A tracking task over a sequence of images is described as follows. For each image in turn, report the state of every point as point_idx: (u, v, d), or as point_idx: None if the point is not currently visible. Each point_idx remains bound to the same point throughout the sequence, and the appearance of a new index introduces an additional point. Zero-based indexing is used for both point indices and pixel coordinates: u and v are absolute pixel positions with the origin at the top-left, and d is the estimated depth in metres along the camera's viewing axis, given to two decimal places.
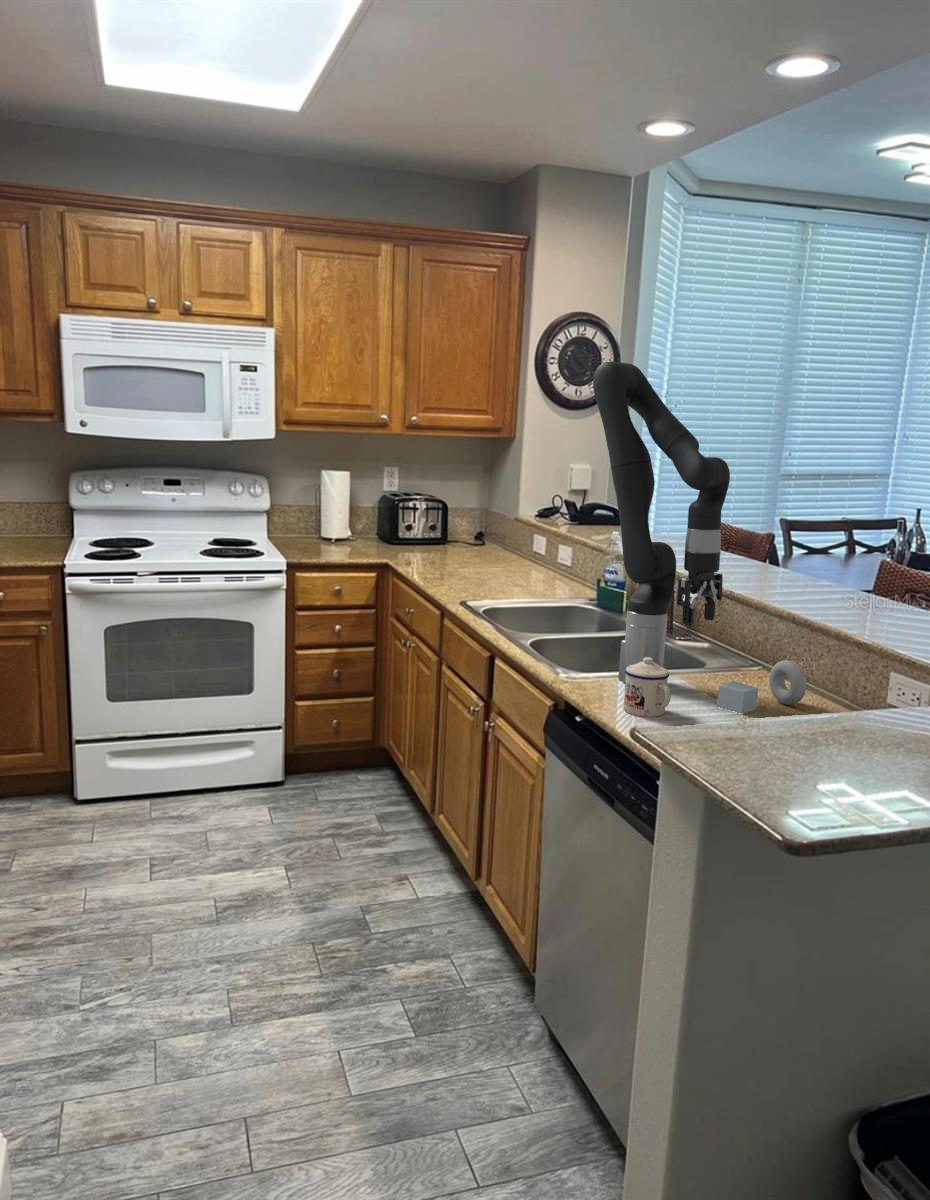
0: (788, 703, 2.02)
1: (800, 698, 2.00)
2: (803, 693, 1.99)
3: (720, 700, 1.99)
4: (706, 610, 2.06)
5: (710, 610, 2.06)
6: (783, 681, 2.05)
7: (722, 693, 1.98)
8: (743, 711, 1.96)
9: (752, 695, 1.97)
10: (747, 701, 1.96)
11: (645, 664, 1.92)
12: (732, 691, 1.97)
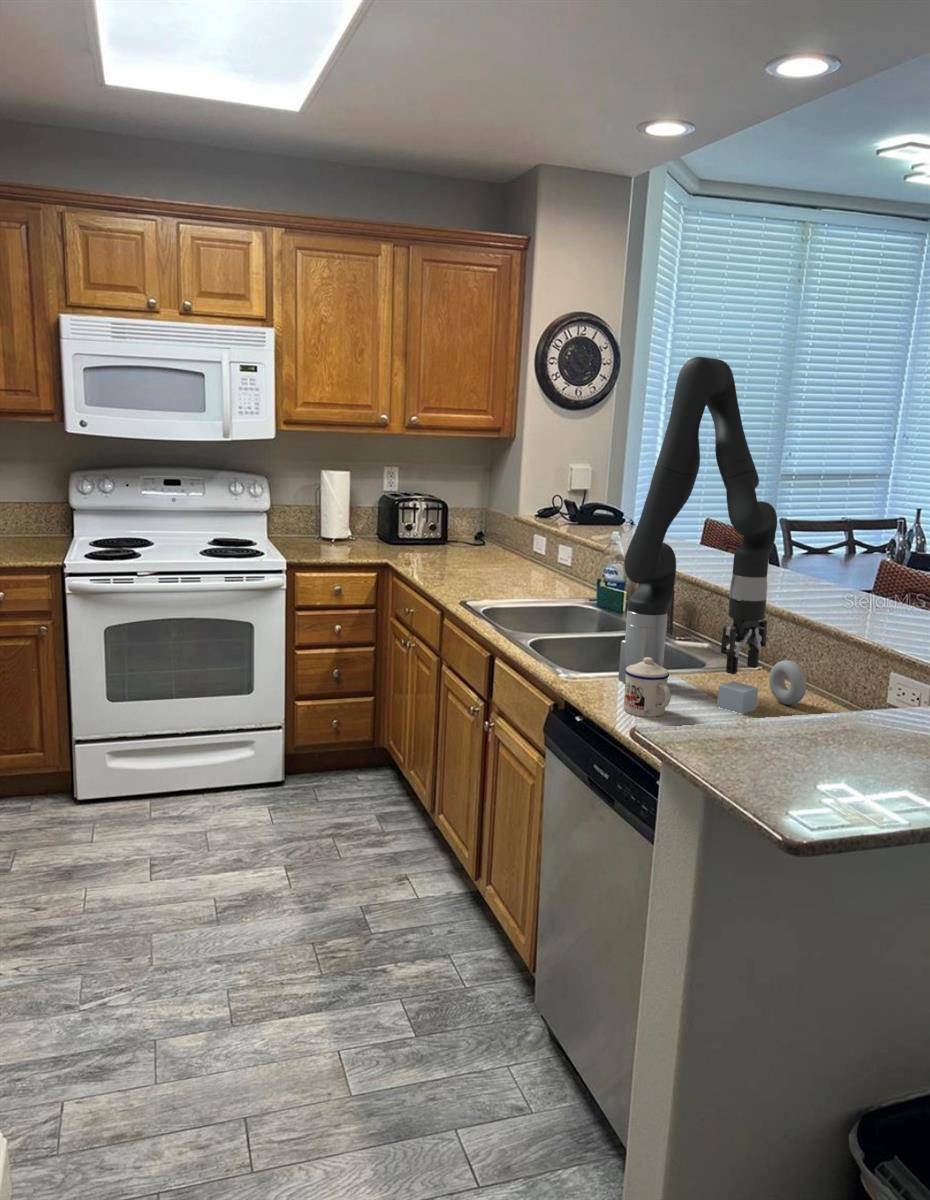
0: (788, 703, 2.02)
1: (800, 698, 2.00)
2: (803, 693, 1.99)
3: (720, 700, 1.99)
4: (749, 657, 2.00)
5: (754, 657, 2.00)
6: (783, 681, 2.05)
7: (722, 693, 1.98)
8: (743, 711, 1.96)
9: (752, 695, 1.97)
10: (747, 701, 1.96)
11: (645, 664, 1.92)
12: (732, 691, 1.97)
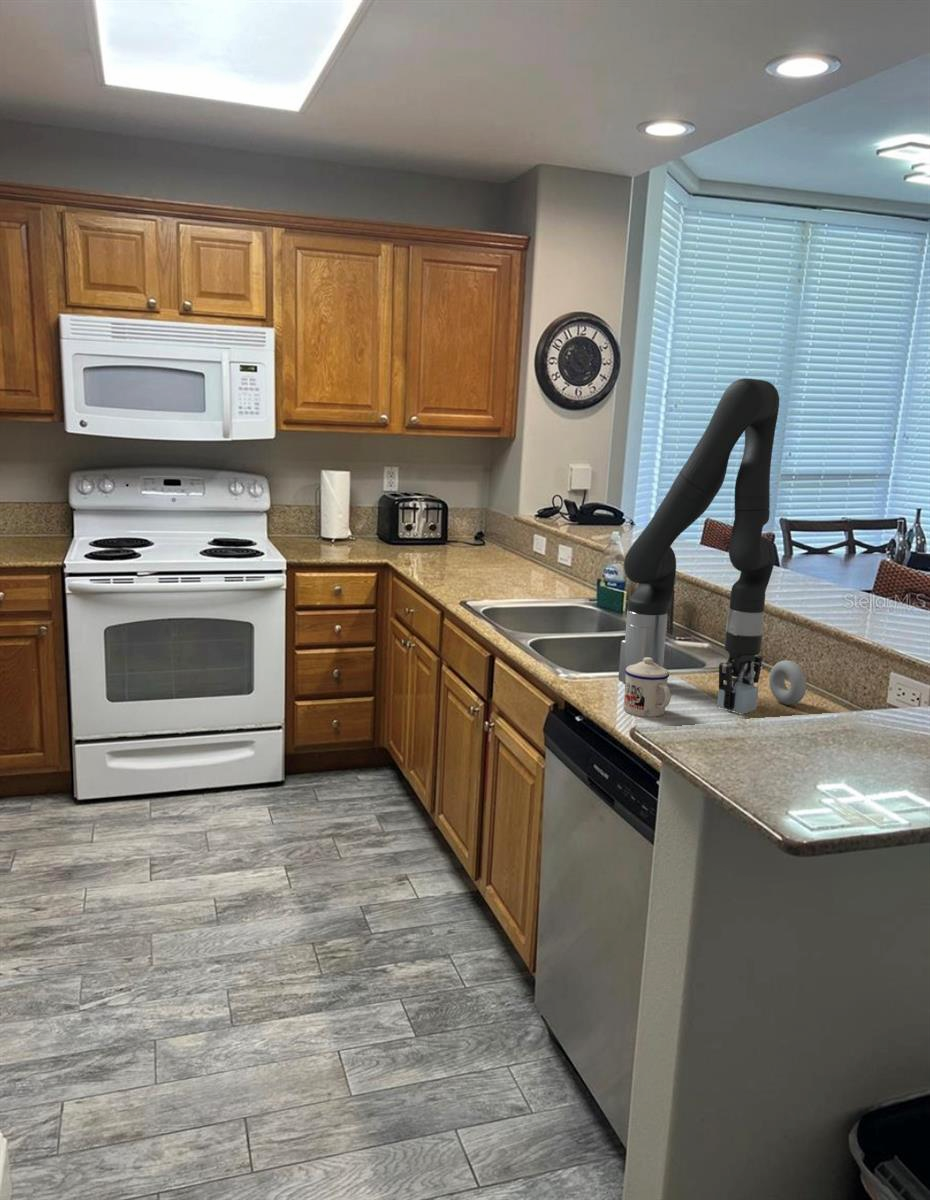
0: (788, 703, 2.02)
1: (800, 698, 2.00)
2: (803, 693, 1.99)
3: (720, 699, 1.99)
4: None
5: None
6: (783, 681, 2.05)
7: (722, 692, 1.98)
8: (743, 710, 1.96)
9: (752, 695, 1.97)
10: (747, 700, 1.96)
11: (645, 664, 1.92)
12: None
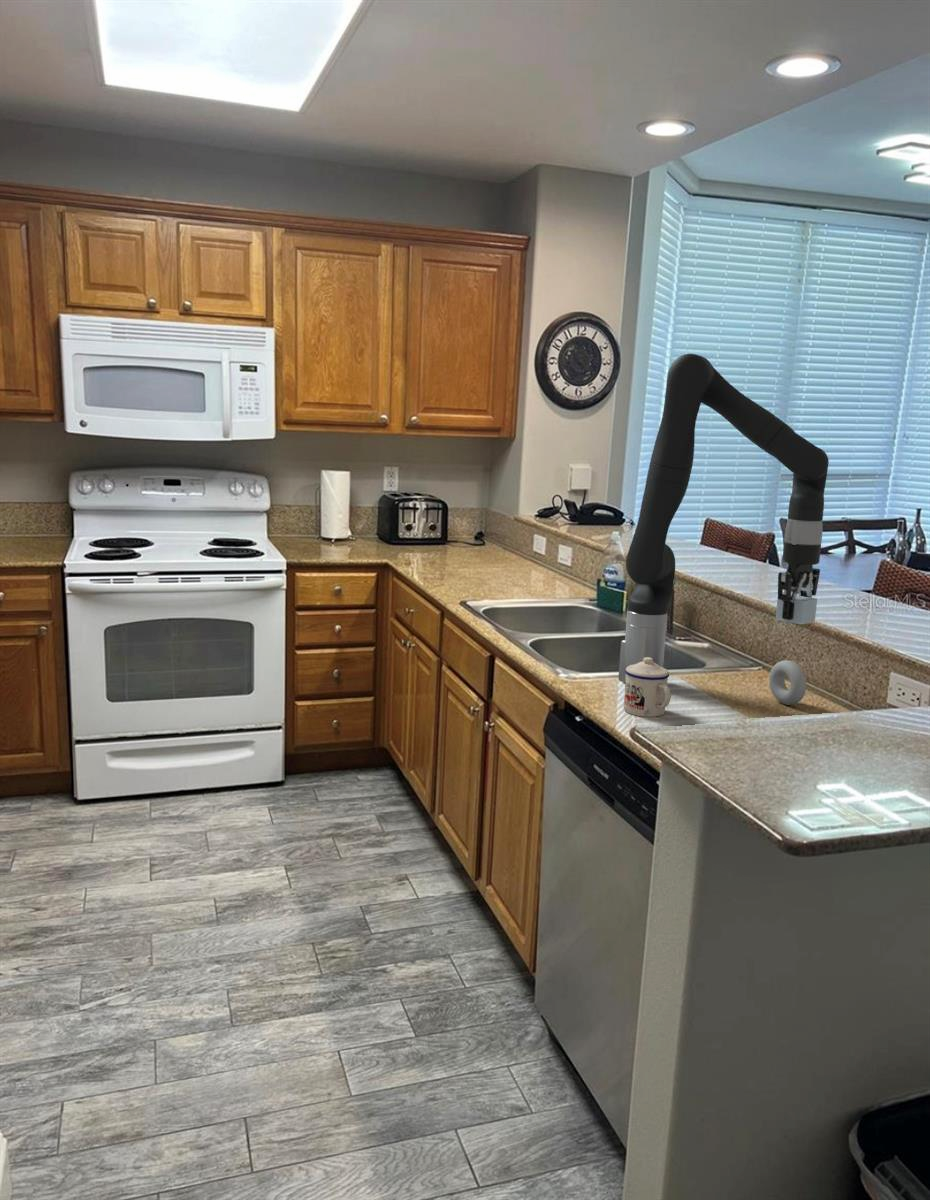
0: (788, 703, 2.02)
1: (800, 698, 2.00)
2: (803, 693, 1.99)
3: (779, 611, 1.99)
4: None
5: None
6: (783, 681, 2.05)
7: (781, 604, 1.99)
8: (803, 621, 1.96)
9: (811, 606, 1.98)
10: (806, 610, 1.97)
11: (645, 664, 1.92)
12: None
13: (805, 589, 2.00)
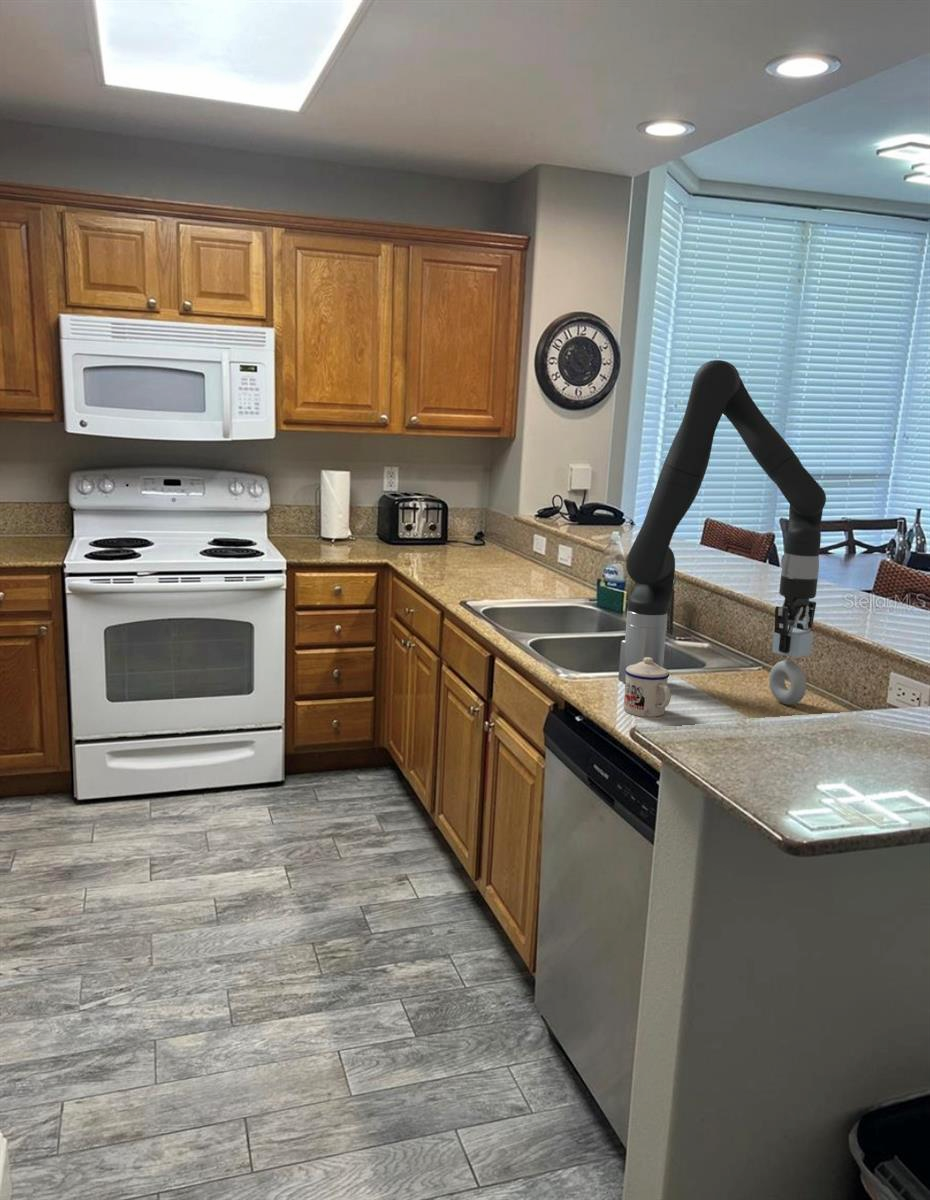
0: (788, 703, 2.02)
1: (800, 698, 2.00)
2: (803, 693, 1.99)
3: (776, 644, 2.01)
4: None
5: None
6: (783, 681, 2.05)
7: (778, 637, 2.01)
8: (799, 654, 1.98)
9: (807, 639, 2.00)
10: (803, 644, 1.98)
11: (645, 664, 1.92)
12: None
13: (801, 622, 2.02)
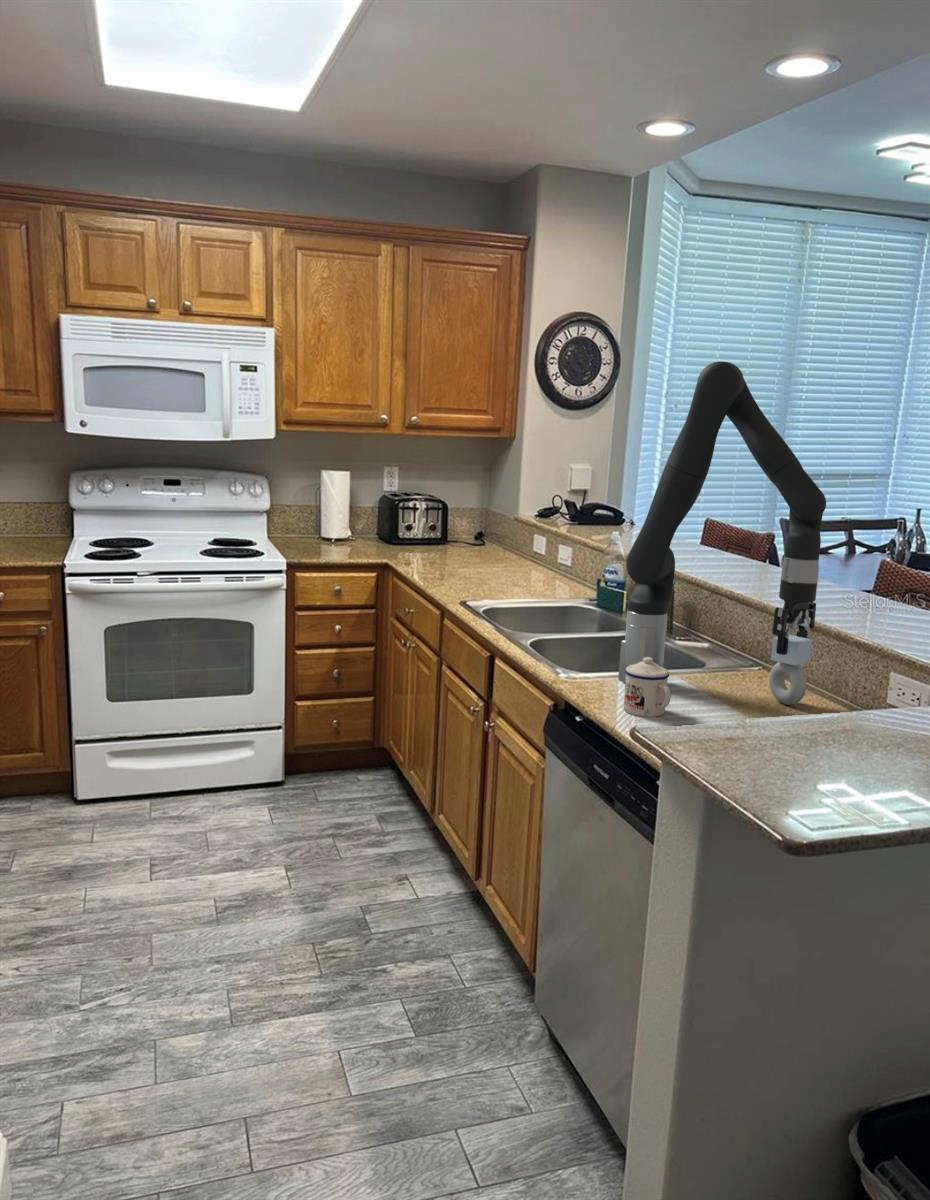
0: (788, 703, 2.02)
1: (800, 698, 2.00)
2: (803, 693, 1.99)
3: (774, 652, 2.02)
4: None
5: None
6: (783, 681, 2.05)
7: (776, 645, 2.01)
8: (798, 662, 1.98)
9: (806, 647, 2.00)
10: (801, 652, 1.99)
11: (645, 664, 1.92)
12: None
13: (803, 624, 2.02)
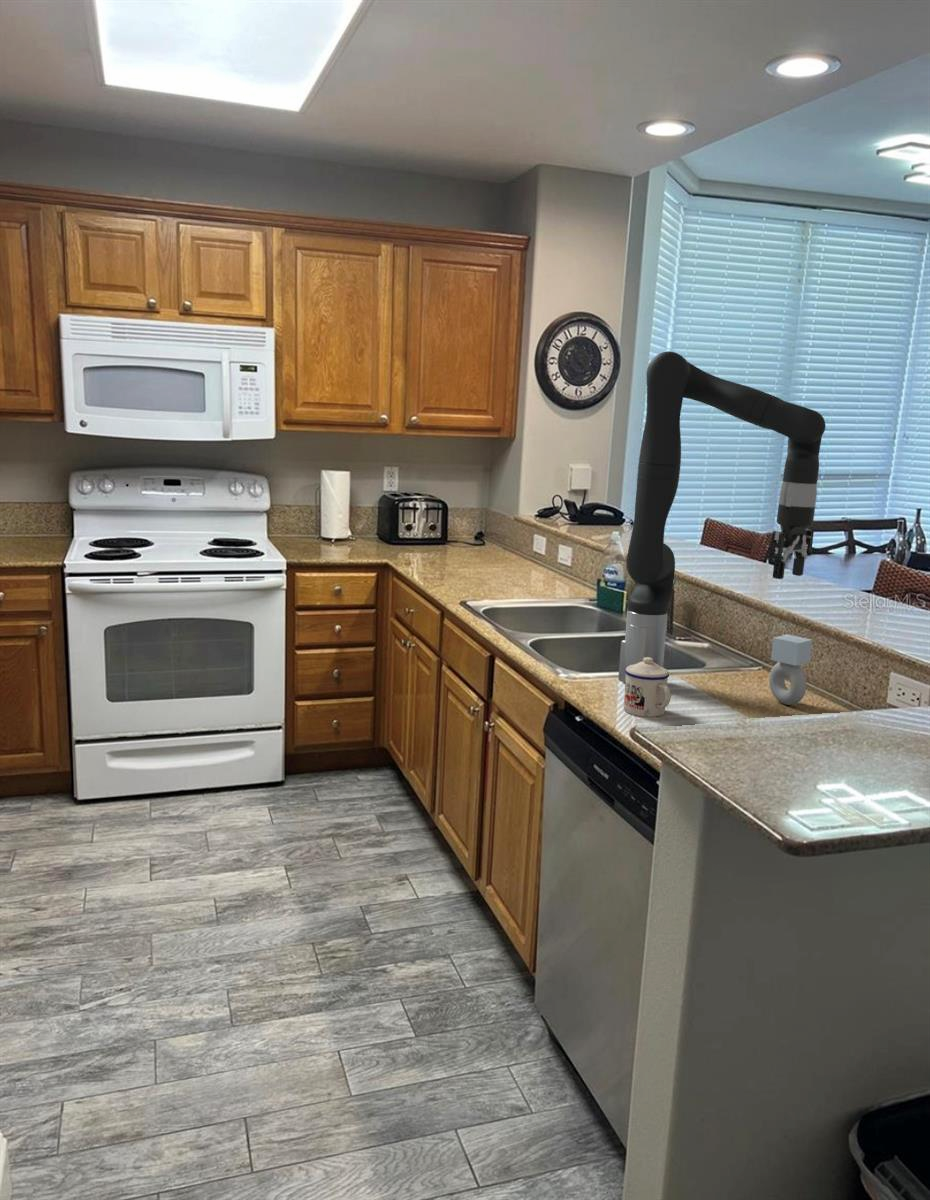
0: (788, 703, 2.02)
1: (800, 698, 2.00)
2: (803, 693, 1.99)
3: (774, 652, 2.02)
4: (795, 565, 2.05)
5: (799, 565, 2.04)
6: (783, 681, 2.05)
7: (776, 645, 2.01)
8: (798, 662, 1.98)
9: (806, 647, 2.00)
10: (801, 652, 1.99)
11: (645, 664, 1.92)
12: (787, 642, 1.99)
13: (800, 550, 2.03)
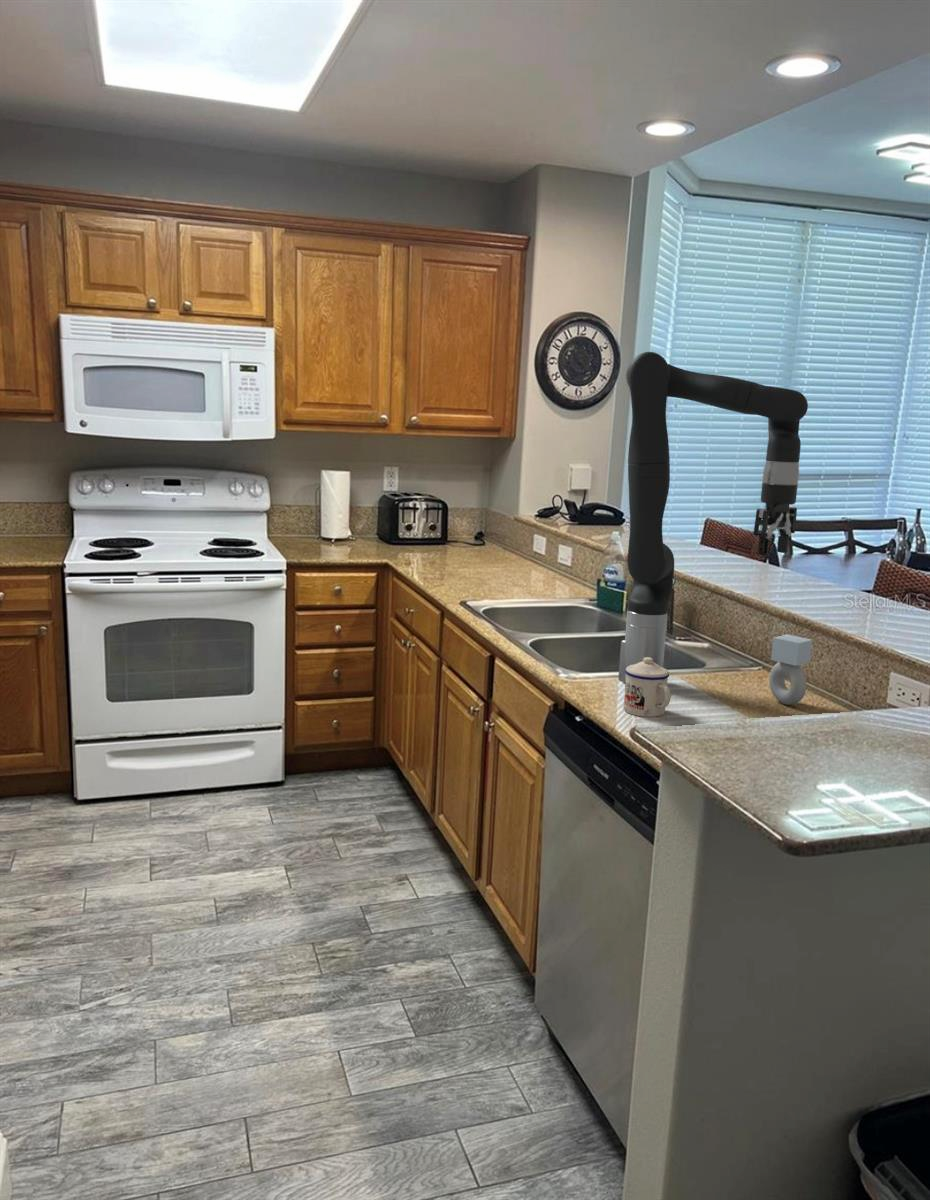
0: (788, 703, 2.02)
1: (800, 698, 2.00)
2: (803, 693, 1.99)
3: (774, 652, 2.02)
4: (779, 543, 2.11)
5: (783, 543, 2.10)
6: (783, 681, 2.05)
7: (776, 645, 2.01)
8: (798, 662, 1.98)
9: (806, 647, 2.00)
10: (801, 652, 1.99)
11: (645, 664, 1.92)
12: (787, 642, 1.99)
13: (784, 528, 2.09)
